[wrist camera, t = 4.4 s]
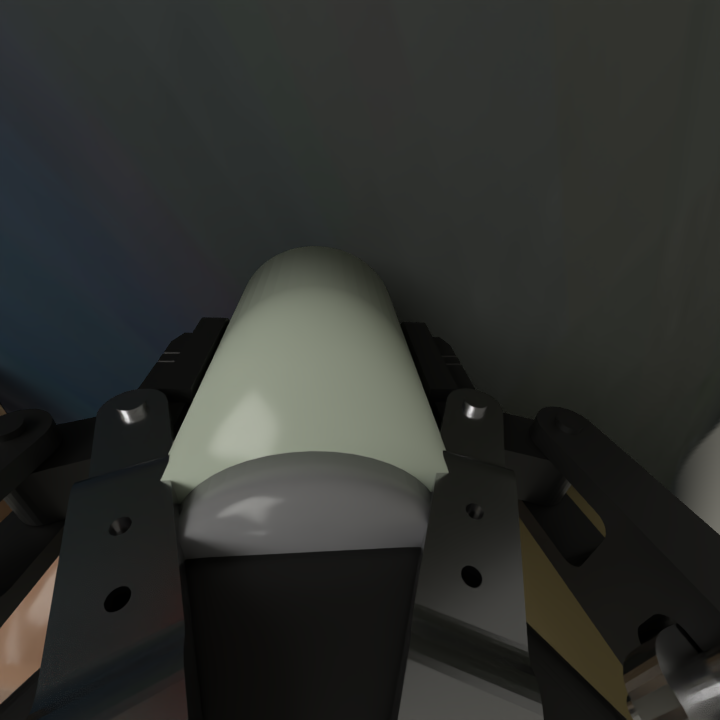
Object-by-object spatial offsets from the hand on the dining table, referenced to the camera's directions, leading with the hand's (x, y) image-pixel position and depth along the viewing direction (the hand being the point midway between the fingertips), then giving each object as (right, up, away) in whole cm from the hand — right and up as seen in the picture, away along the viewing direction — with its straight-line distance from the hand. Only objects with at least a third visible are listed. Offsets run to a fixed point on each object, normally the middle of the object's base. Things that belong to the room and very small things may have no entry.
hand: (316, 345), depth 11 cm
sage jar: (0, +1, +1) cm, 2 cm away
